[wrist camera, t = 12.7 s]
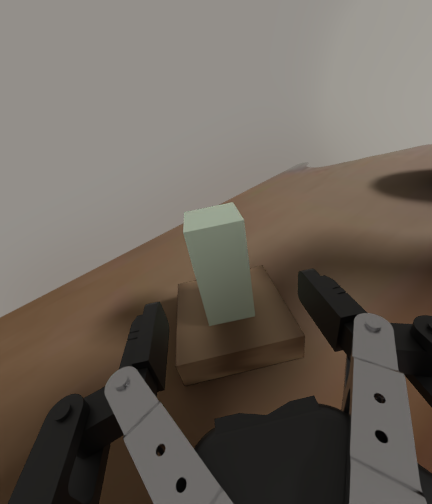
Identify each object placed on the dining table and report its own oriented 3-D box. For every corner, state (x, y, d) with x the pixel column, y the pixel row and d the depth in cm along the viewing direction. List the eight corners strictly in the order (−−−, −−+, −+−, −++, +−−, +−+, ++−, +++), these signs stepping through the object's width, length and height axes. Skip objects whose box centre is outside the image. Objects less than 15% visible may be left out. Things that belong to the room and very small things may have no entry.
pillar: (244, 286, 24) (232, 202, 20) (255, 316, 21) (243, 219, 16) (205, 295, 24) (184, 212, 19) (209, 326, 21) (183, 232, 16)
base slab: (263, 283, 29) (262, 265, 27) (303, 357, 19) (304, 335, 18) (183, 301, 29) (178, 284, 27) (184, 385, 19) (175, 366, 18)
